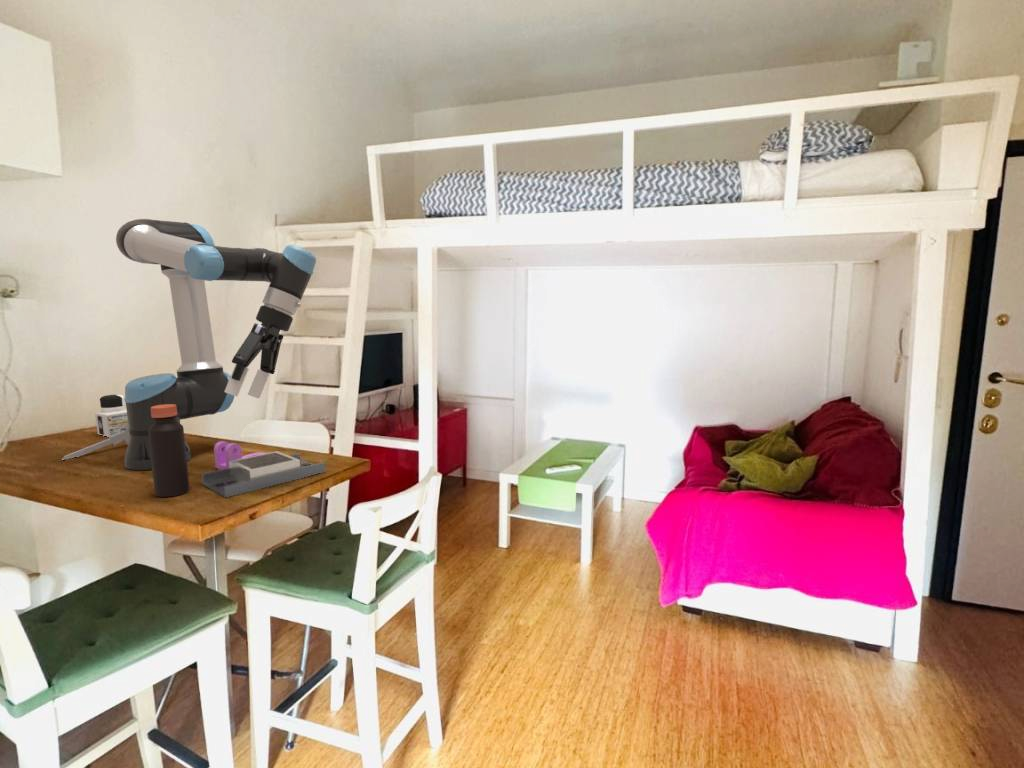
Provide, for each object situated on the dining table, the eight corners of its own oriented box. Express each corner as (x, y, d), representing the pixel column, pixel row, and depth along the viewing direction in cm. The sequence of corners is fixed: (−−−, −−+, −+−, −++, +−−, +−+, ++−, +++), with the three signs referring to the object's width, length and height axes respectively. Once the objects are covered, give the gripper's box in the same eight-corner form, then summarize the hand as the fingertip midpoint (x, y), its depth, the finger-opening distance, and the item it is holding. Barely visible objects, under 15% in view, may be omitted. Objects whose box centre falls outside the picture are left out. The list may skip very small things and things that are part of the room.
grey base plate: (202, 484, 133) (200, 465, 133) (298, 462, 151) (297, 445, 150) (225, 497, 124) (223, 478, 123) (325, 472, 141) (324, 455, 141)
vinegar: (195, 487, 131) (187, 403, 128) (180, 497, 124) (170, 408, 121) (165, 488, 131) (156, 403, 128) (148, 498, 124) (138, 409, 121)
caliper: (135, 444, 172) (133, 424, 171) (137, 445, 172) (135, 424, 171) (59, 462, 154) (56, 439, 153) (61, 462, 154) (58, 440, 153)
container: (109, 438, 180) (104, 398, 178) (97, 435, 183) (92, 396, 182) (135, 433, 186) (130, 394, 184) (123, 430, 190) (118, 392, 188)
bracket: (230, 472, 143) (227, 445, 142) (215, 469, 146) (213, 443, 145) (272, 458, 155) (270, 434, 154) (258, 456, 157) (256, 432, 156)
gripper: (276, 305, 119) (237, 399, 117) (307, 325, 144) (275, 402, 142) (242, 292, 119) (202, 386, 117) (279, 314, 144) (247, 392, 142)
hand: (242, 395), depth 130 cm, fingers open, 13 cm apart
